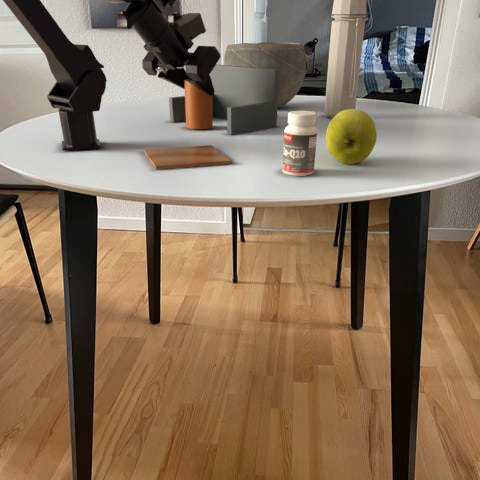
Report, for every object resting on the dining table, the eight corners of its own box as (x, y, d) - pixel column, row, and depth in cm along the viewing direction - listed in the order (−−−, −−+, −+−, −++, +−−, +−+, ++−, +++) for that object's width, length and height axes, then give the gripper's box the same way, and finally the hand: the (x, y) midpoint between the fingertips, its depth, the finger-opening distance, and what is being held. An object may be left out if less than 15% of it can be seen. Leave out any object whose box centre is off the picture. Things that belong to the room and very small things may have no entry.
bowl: (296, 101, 140) (300, 40, 133) (310, 113, 122) (315, 43, 114) (222, 101, 139) (221, 40, 131) (225, 114, 121) (224, 43, 113)
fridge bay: (231, 135, 99) (231, 73, 93) (170, 121, 112) (166, 66, 106) (276, 127, 107) (279, 69, 101) (215, 115, 119) (213, 64, 114)
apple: (323, 169, 76) (328, 113, 72) (323, 155, 84) (327, 104, 80) (375, 171, 75) (383, 114, 71) (370, 157, 83) (377, 105, 79)
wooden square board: (231, 163, 79) (231, 160, 79) (156, 169, 76) (155, 166, 75) (211, 148, 89) (211, 145, 88) (144, 152, 85) (143, 149, 85)
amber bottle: (215, 128, 104) (214, 64, 98) (189, 129, 102) (187, 64, 96) (208, 124, 108) (207, 62, 102) (183, 125, 107) (180, 62, 101)
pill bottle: (276, 173, 74) (278, 113, 70) (291, 166, 77) (295, 109, 73) (304, 178, 72) (309, 116, 67) (319, 171, 75) (324, 112, 71)
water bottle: (317, 115, 120) (326, -9, 107) (345, 113, 122) (358, -8, 110) (336, 121, 113) (349, -11, 100) (366, 119, 115) (382, -11, 102)
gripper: (212, -8, 85) (256, 63, 97) (150, -4, 97) (196, 58, 109) (177, 45, 85) (225, 110, 97) (119, 42, 96) (169, 100, 108)
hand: (203, 92), depth 103 cm, fingers closed on amber bottle, 5 cm apart
